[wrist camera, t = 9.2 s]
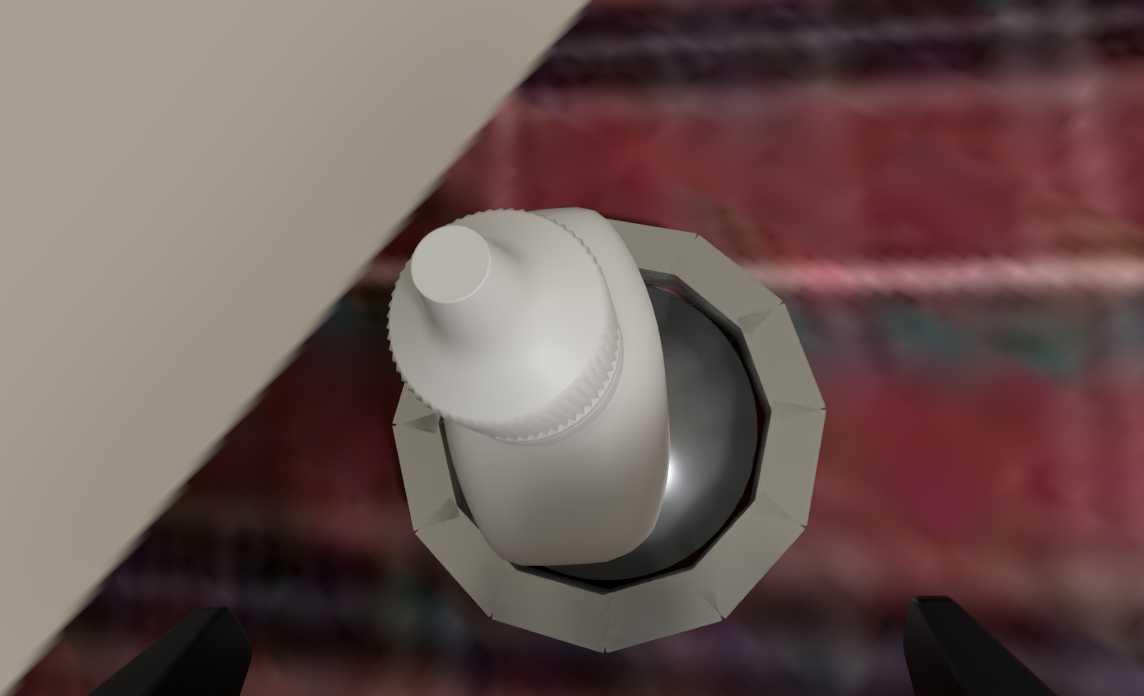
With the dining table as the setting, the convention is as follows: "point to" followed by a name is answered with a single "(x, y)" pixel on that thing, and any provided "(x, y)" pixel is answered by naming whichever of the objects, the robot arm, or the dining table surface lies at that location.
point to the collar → (695, 477)
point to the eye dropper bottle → (540, 379)
